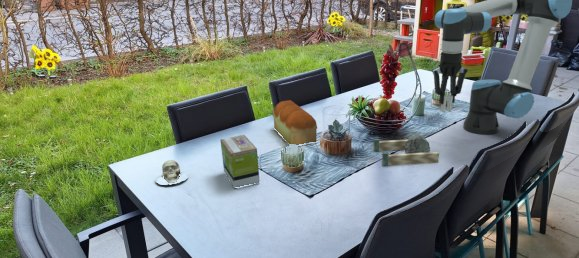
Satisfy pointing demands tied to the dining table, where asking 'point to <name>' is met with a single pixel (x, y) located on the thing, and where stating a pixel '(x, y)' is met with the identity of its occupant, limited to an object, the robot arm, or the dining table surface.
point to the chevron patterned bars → (402, 158)
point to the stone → (417, 144)
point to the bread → (294, 123)
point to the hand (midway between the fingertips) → (445, 111)
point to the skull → (171, 171)
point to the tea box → (240, 160)
